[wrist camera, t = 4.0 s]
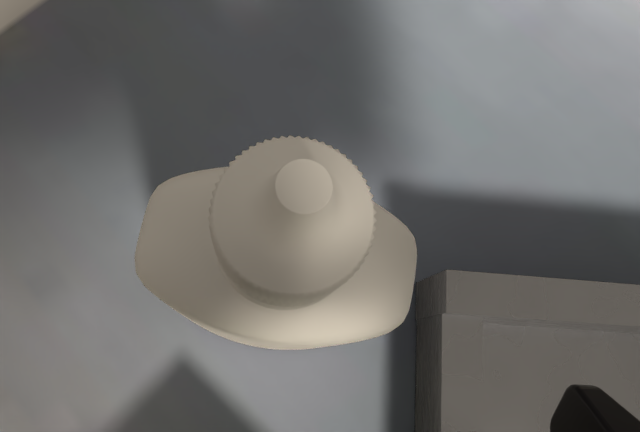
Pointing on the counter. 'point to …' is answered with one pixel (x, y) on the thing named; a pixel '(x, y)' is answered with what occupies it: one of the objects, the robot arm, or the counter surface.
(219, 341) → the counter surface
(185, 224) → the eye dropper bottle
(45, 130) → the counter surface
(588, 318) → the grey square tray
